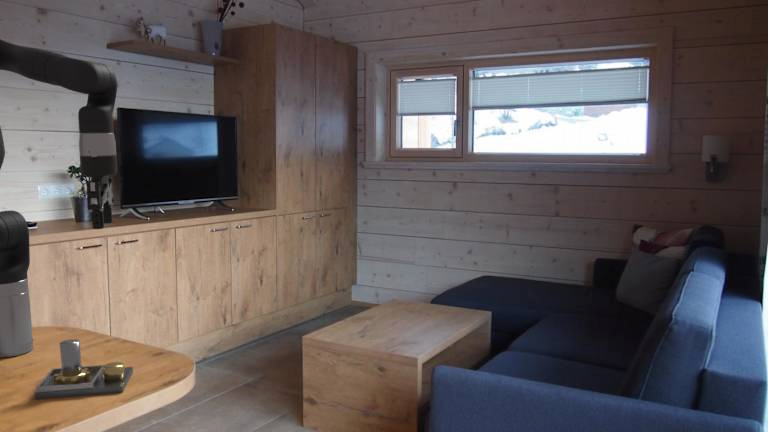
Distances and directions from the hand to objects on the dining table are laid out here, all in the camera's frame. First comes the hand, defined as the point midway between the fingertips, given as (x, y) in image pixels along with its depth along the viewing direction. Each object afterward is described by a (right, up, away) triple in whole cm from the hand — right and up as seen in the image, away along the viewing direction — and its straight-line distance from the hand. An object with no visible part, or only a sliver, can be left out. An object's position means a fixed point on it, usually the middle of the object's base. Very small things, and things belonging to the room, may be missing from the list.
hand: (102, 225), depth 147 cm
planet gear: (0, -31, -15) cm, 34 cm away
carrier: (+3, -32, -14) cm, 35 cm away
